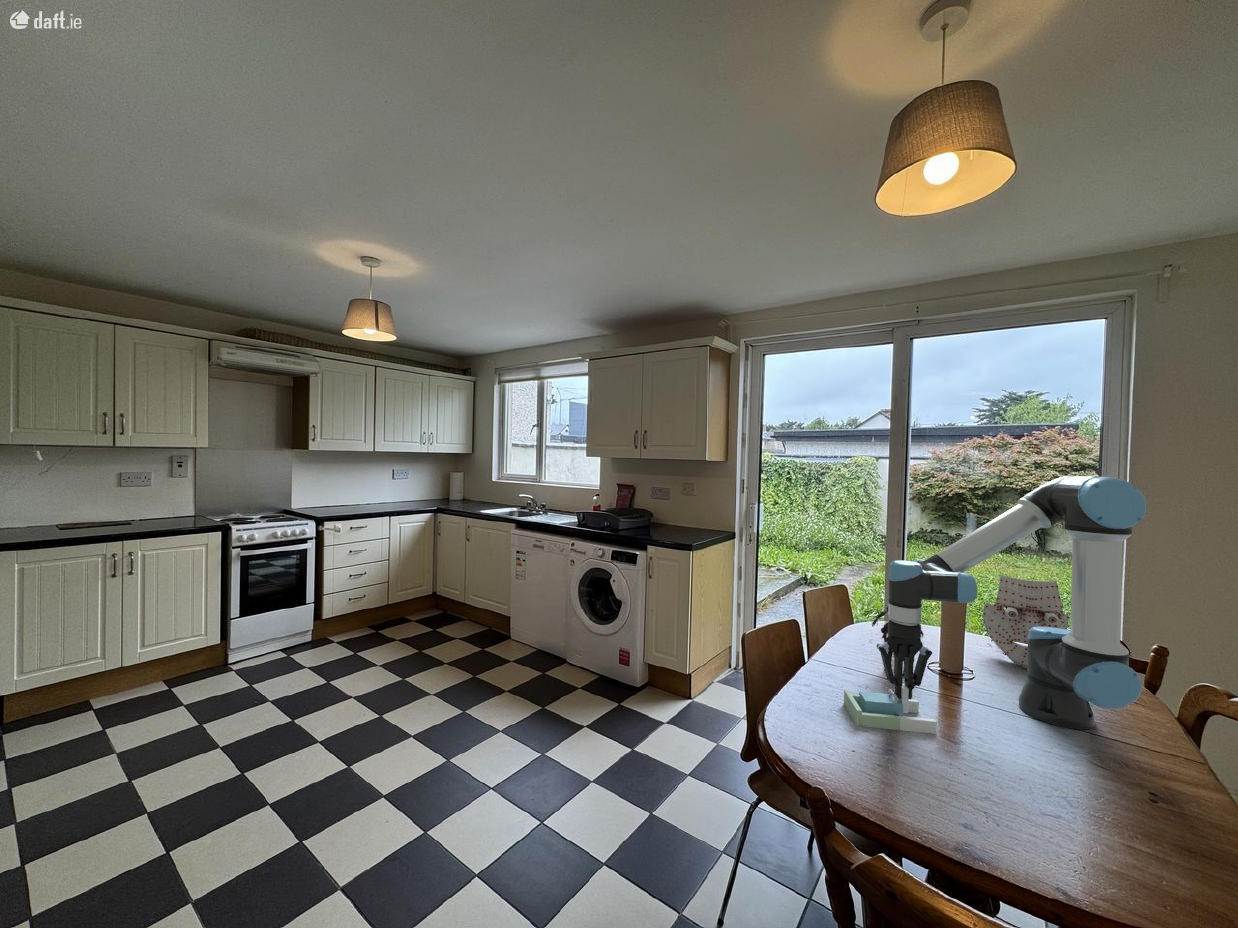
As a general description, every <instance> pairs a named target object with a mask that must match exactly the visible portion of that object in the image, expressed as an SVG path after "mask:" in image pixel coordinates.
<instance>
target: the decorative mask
mask: <svg viewBox="0 0 1238 928" xmlns="http://www.w3.org/2000/svg"><path fill="white" fill-rule="evenodd" d="M1057 582H1058V581H1057V580H1045V581H1044V580H1043V581H1040V580H1029V579H1023V578H1017V577H1010V576H1007V575H1001V574H1000V578H999V583H998V587H997V588H998V589H997V594H996V599H995V603H994V604H992V603H990V602H988V601H986V602H985V604H984V605H983V610H982V619H983V620H982V621H983V622H982V623H983V624H984V627H985V629H984V631H985V633H987V635H988V636H989V638H990V642H993V643H994V644H995V645H996V646H997V648H999V649H1000V650H1001V651H1002V655H1004V656H1007V658H1009V660H1010V661H1011V662H1012V663H1013V664H1015V665H1017V666H1019V667H1021V668H1024V669H1027V670H1028V640H1027V638H1028V633H1029V630H1030V628H1032V627H1052V628H1060V629H1066V630H1068V628H1069V627H1070V626H1071V624H1069V620H1070V616H1069V612H1065V613H1064V609H1063V608H1064V605H1062V600H1061V596H1060V590H1059V585H1058V583H1057ZM1004 608H1005V609H1004ZM1019 643H1022V644H1026V645H1022V644H1019Z"/></svg>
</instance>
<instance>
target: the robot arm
mask: <svg viewBox="0 0 1238 928" xmlns="http://www.w3.org/2000/svg"><path fill="white" fill-rule="evenodd" d="M1146 511H1147V501H1146V498H1145V496H1144V494H1143V493H1142V491H1141V490H1140V489H1139V488H1138V487H1137V486H1136V485H1134V484H1133V483H1131V482H1129V481H1127V480H1125V479H1122V478H1117V477H1116V478H1115V477H1111V476H1103V475H1101V476H1092V475H1091V476H1086V475H1085V476H1084V475H1066V476H1060V477H1058V478H1055V479H1052V480H1051V481H1048V482H1046V483H1044V484H1042V485H1040V486H1039V487H1036V488H1035V489H1034V490H1032V491H1030V492H1029V493H1026V494H1025V495H1024V496H1022V497H1021V498H1018V500H1017V505H1015V506H1013V507H1012V508H1009V509H1008V510H1006V511H1005V512H1004V513H1001V514H1000V515H999V516H997V517H995V518H993V519H991V520H990V521H988V522H987V523H985V524H984V525H982V526H980V527H978V528H976V529H974V530H973V531H972V532H970V533H968V534H967V535H965V536H963V537H962V538H960V539H959V540H957V541H955V542H953V543H952V544H950V545H949V546H947V547H945V548H943V549H942V550H941V551H938V552H937V553H935V554H933V555H931V556H929V557H928V558H927V559H926V558H925V559H924V558H923V559H921V558H920V559H916V560H914V561H909V560H892V561H891V562H890V563H889V568H888V577H887V580H888V602H887V603H888V604H887V605H888V606H887V607H888V612H887V617H888V618H889V619H888V620H887V622H888V633H887V638H886V642H883V643H877V644H876V648H877V650H878V651H879V652H880V655H881V659H882V664H883V669H885V671H884V673H885V677H886V679H887V681H888V682H889V683H890V684H892V685H894V691H893V692H894V693H895V695H896V696H897V697H898V699H899V700H900V701H901V703H902V704H903V714H909V712H908V699H913V690H914V689H915V687H916V686H917V687H920V686H921V684H922V681H923V678H924V674H925V671H926V667H927V664H928V660H929V658H930V657H931V656H932V655H933V651H932V650H930V648H928V647H925V646H924V644H923V641H922V640H921V639H922V634H921V630H922V624H921V623H922V607H923V605H922V603H923V602H922V601H936V602H948V603H957V604H960V603H962V604H964V603H969V604H970V603H973V602H975V601H976V599H977V596H978V584H977V581H976V579H975V577H974V576H973V575H972V574H970V573H968V572H967V571H969V570H970V569H972V568H973V567H975V566H977V565H978V564H980V563H983V562H984V561H986V560H987V559H989V558H991V557H993V556H995V555H996V554H997V553H1000V552H1001V551H1003V550H1005V549H1007V548H1008V547H1009V546H1011V545H1014V543H1017V542H1018V541H1021V540H1022V539H1024V538H1025V537H1028V536H1029V535H1031V534H1032V533H1034V532H1036V531H1037V530H1039V529H1041V528H1042V529H1050V528H1051V527H1053V526H1054V525H1057V524H1059V523H1063V522H1064V526H1063V527H1064V529H1063V530H1064V531H1065V532H1066V533H1067V534H1069V535H1070V536H1071V538H1072V544H1071V545H1072V547H1071V551H1072V552H1071V582H1070V583H1071V584H1070V585H1071V588H1070V589H1071V590H1070V591H1071V593H1070V594H1071V596H1070V629H1067V630H1066V629H1060V628H1052V627H1032V628H1030V630H1029V633H1028V638H1027V640H1028V644H1027V646H1028V669H1027V676H1026V677H1027V679H1026V681H1025V684H1024V686H1023V687H1022V690H1021V692H1020V694H1019V696H1018V707H1019V708H1020V709H1021V710H1022V711H1023V712H1024V713H1026V714H1027V715H1029V716H1030V717H1033V718H1035V719H1037V720H1040V721H1041V722H1044V723H1047V724H1051V725H1054V726H1058V727H1062V728H1065V729H1072V730H1090V729H1093V728H1094V727H1095V715H1094V713H1093V709H1092V707H1091V704H1092V705H1094V706H1097V707H1099V708H1103V709H1110V710H1116V709H1122V708H1127V707H1128V706H1129V705H1130V704H1133V703H1135V702H1136V701H1137V700H1138V699H1139V697H1140V696H1141V693H1142V690H1143V684H1142V683H1143V682H1142V680H1141V677H1140V676H1139V674H1137V672H1136V671H1135V670H1134V669H1133V667H1130V664H1129V663H1130V652H1129V650H1128V648H1126V647H1125V646H1124V645H1123V643H1121V614H1122V613H1121V610H1122V609H1121V608H1122V578H1123V576H1122V575H1123V573H1122V570H1123V569H1122V568H1123V542H1124V541H1125V540H1128V539H1129V538H1130V537H1132V536H1133V527H1134V526H1136V525H1137V524H1138V523H1139V521H1141V520H1143V519H1144V517H1145V516H1146V513H1147V512H1146ZM966 572H967V573H966ZM888 647H890V649H891V650H892V651H893V666H894V667H893V666H892V667H893V668H892V667H891V665H892V662H891V663H890V659H889V655H888V651H889V650H888ZM918 653H919V654H918ZM917 654H918V656H917V660H916V663H915V656H916V655H917ZM904 658H905V673H904V677H903V669H904ZM914 664H915V665H914ZM914 666H915V667H914ZM903 678H904V679H903ZM903 680H904V683H903ZM1090 703H1091V704H1090Z"/></svg>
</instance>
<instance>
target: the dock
mask: <svg viewBox="0 0 1238 928" xmlns="http://www.w3.org/2000/svg"><path fill="white" fill-rule="evenodd" d="M919 703H920V702H919V701H918V699H913V698H912V699H908V713H913V714H914V713H916V714H919V712H920V711H919V708H920V707H919V705H920V704H919ZM843 705H844V707H845V709H847V712H848V713H849V715H850V716H851V718H852V720H853V722H854V723H855V725H856V726H857V727H864V728H865V727H866V728H874V729H875V728H877V729H883V730H894V731H895V730H896V731H904V732H913V733H915V732H916V733H925V734H934V735H937V732H938V731H937V725H938V722H937V721H936V719H933V718H924V717H923V718H922V717H912V716H894V715H884V714H873V713H863V712H862V710H861V708H860V707H859V694H857V693H851V691H850V689H843Z"/></svg>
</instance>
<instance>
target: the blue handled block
mask: <svg viewBox="0 0 1238 928" xmlns="http://www.w3.org/2000/svg"><path fill="white" fill-rule="evenodd" d="M894 692H895V691H893V689H891V688H889V689H888V693H881V692H879V693H878V692H868V691H859V707H860V708H861V710H862V712H863V713H873V714H884V715H894V716H903V715H904V713H903V704H902V703H901V701H900V700H899V699H898V697H897V696H896V695H895V693H894Z"/></svg>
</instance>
